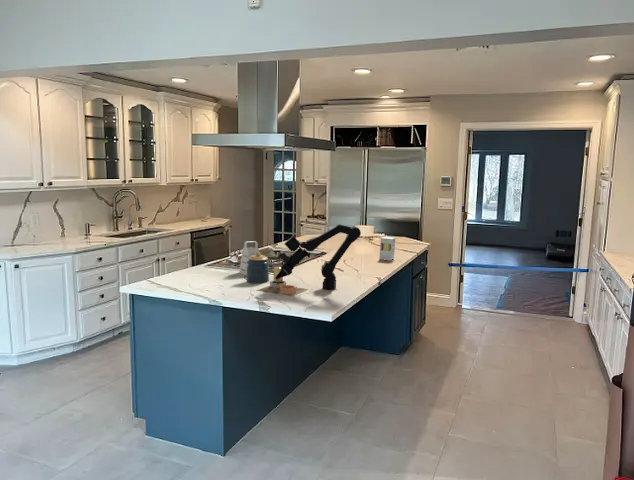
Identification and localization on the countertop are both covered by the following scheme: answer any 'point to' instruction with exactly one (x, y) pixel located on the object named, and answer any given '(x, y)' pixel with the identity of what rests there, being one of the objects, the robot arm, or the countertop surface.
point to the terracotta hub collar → (288, 289)
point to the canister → (257, 269)
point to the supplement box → (387, 248)
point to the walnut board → (277, 291)
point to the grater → (247, 256)
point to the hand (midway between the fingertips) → (276, 276)
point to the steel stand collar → (276, 285)
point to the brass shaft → (276, 271)
